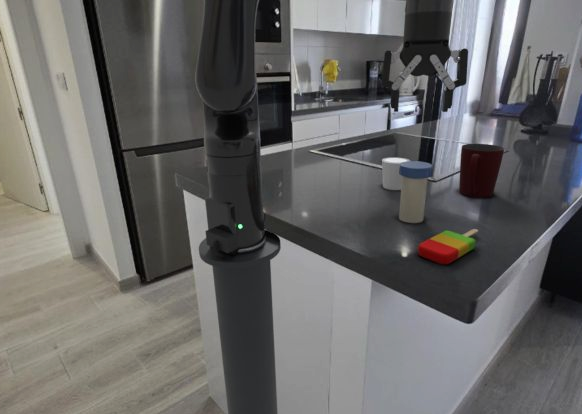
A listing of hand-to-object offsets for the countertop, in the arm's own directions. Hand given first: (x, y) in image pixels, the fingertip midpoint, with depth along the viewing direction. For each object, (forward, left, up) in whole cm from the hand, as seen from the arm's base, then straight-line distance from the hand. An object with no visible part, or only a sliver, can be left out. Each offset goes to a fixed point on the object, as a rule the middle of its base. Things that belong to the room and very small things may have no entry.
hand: (420, 111), depth 69 cm
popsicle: (-8, -11, -21) cm, 25 cm away
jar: (0, 0, -21) cm, 21 cm away
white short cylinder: (+18, +12, -21) cm, 30 cm away
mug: (+23, -6, -21) cm, 32 cm away
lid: (0, 0, -10) cm, 10 cm away
